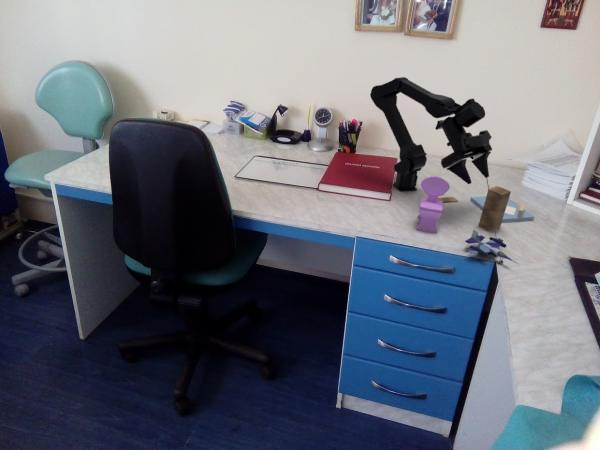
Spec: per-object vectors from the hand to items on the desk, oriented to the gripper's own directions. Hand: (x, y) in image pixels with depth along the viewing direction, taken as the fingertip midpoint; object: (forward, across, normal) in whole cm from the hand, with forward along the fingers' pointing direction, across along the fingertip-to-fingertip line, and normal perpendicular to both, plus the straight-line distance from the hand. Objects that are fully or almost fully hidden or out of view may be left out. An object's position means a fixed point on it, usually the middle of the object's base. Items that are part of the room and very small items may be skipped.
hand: (479, 180), depth 142 cm
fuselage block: (+14, 0, +4) cm, 15 cm away
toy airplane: (+21, -15, -2) cm, 26 cm away
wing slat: (+1, +3, +18) cm, 18 cm away
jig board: (+11, +14, +7) cm, 19 cm away
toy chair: (+6, -16, +12) cm, 21 cm away
